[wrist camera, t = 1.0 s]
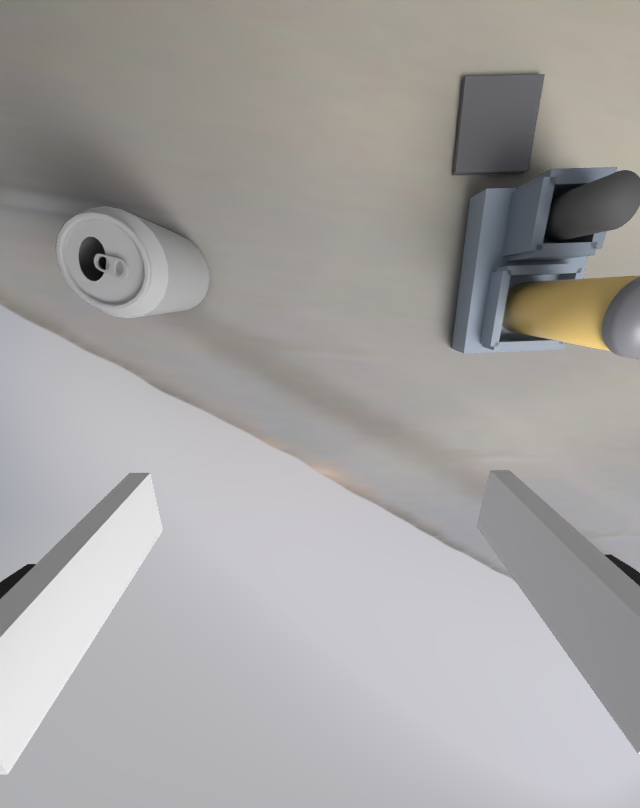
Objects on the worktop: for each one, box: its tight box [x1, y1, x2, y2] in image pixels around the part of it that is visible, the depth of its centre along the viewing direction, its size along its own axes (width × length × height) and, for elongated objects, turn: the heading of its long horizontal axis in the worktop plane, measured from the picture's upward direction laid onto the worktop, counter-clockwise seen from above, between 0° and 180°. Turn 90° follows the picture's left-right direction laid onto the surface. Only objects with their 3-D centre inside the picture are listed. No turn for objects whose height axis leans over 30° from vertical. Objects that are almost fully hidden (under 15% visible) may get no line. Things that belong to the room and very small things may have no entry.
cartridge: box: [502, 276, 640, 360], centre depth 25 cm, size 5×5×13 cm
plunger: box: [544, 170, 640, 242], centre depth 23 cm, size 4×4×5 cm
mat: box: [453, 74, 545, 175], centre depth 28 cm, size 7×7×1 cm
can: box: [56, 206, 209, 318], centre depth 26 cm, size 8×8×12 cm
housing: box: [452, 167, 617, 353], centre depth 29 cm, size 15×11×7 cm
